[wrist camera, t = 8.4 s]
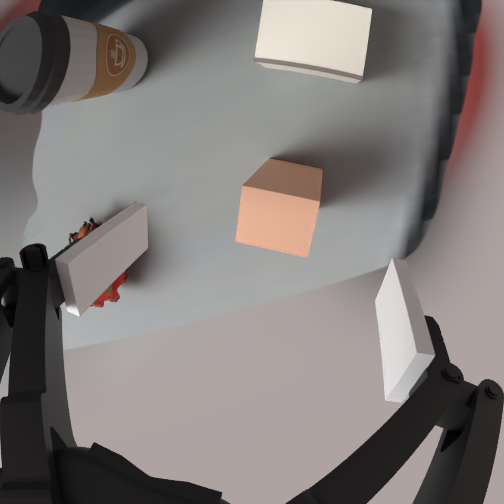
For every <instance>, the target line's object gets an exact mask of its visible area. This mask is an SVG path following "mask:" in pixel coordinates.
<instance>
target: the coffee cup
mask: <svg viewBox="0 0 504 504" xmlns="http://www.w3.org/2000/svg"><path fill="white" fill-rule="evenodd" d="M147 63H148V54H147V50H146V48H145V46H144V44H143V43H142V41H141V40H140V39H139V38H137V37H135V36H133V35H130V34H127V33H124V32H121V31H119V30H117V29H114V28H111V27H107V26H104V25H101V24H97V23H93V22H90V21H83V20H78V19H74V18H70V17H65V16H61V15H59V14H58V13H56V12H54V11H43V12H41V11H34V12H32V13H29V14H26V15H25V16H20V17H18V18H15V19H14V20H13V21H11V22H10V23H9V24H8V25H7V26H6V27H5V29H4V30H3V31H2V33H1V34H0V110H3V111H5V112H11V113H13V114H15V115H19V114H20V115H21V114H35V113H37V112H39V111H42V110H43V109H44V108H48V107H52V106H55V105H59V104H63V103H67V102H75V101H80V100H84V99H89V98H94V97H98V96H103V95H106V94H111V93H116V92H122V91H125V90H128V89H130V88H131V87H133V86H134V85H135V84H136V83H137V82H138V81H139V80H140V79H141V78H142V76H143V75H144V73H145V71H146V68H147Z"/></svg>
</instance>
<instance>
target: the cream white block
mask: <svg viewBox="0 0 504 504" xmlns="http://www.w3.org/2000/svg"><path fill="white" fill-rule="evenodd" d="M371 14H372V9H370V8H366V7H361V6H357V5H352V4H348V3H343V2H338V1H332V0H263V6H262V13H261V19H260V26H259V32H258V39H257V45H256V52H255V57H254V60H253V61H254V62H257V63H259V64H261V65H262V66H264V67H266V68H273V69H280V70H287V71H294V72H300V73H306V74H312V75H317V76H322V77H327V78H332V79H337V80H342V81H346V82H350V83H355V84H357V83H358V82H360V81H362V80H363V71H364V64H365V58H366V51H367V44H368V37H369V30H370V22H371Z"/></svg>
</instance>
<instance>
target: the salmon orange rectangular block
mask: <svg viewBox="0 0 504 504" xmlns="http://www.w3.org/2000/svg"><path fill="white" fill-rule="evenodd" d="M322 174H323V169H320V168H315V167H310V166H306V165H301V164H296V163H291V162H286V161H281V160H276V159H270V158H269V159H268V160H267V161H266V162H265V163H264V164H263V165H262V166H261V167H260V168H259V169H258V170H257V171H256V172H255V173H254V174H253V175H252V176H251V177H250V178H249V179H248V180H247V181H246V182H245V183H244V184H243V186H242V192H241V200H240V208H239V216H238V224H237V232H236V240H235V241H236V242H240V243H245V244H249V245H254V246H258V247H263V248H267V249H272V250H276V251H280V252H285V253H289V254H294V255H298V256H302V257H308V252H309V248H310V244H311V240H312V236H313V231H314V227H315V223H316V218H317V214H318V210H319V205H320V198H321V187H322Z"/></svg>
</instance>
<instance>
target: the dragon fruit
mask: <svg viewBox="0 0 504 504" xmlns="http://www.w3.org/2000/svg"><path fill="white" fill-rule="evenodd" d="M89 221H90V222H91V223H92V224H91V223H88V224H87V222H84V224H83V226H82V227H81V228H80V231H79V233H76V232H75V233H73V234H72V233H70V234H69V244H70V243H71V238H72V239H73V241H75V240H76V239H78V238H81V237H83V236H87V235H88V234H90V233H91V232H92V231H94V230H95V229H97V228H98V227H99V226H101V225H102V222H96V223H95V222H94V220H93V218H90V220H89ZM128 274H129V267H128V268H127V269H126V270H125V271H124V272H123V273H122V274H121V275H120V276H119V277H118V278H117V279H116V280H115V281H114V282H113V283H112V284H111V285H110V286H109V287H108V288H107V289H106V290H105V291H104V292H103V293H102V294H101V295H100V296H99V297H98V298H97V299H96V300H95V301H94V302H93V303H92V304H91V305H90V306H89V307H91V306H96V307H103V306H104V301H106V300H109V301H111V302H117V300H118V299H119V298H120V296H119V294H118V292H117V289H118V287H119V286H120V285H121V284H122V283H123V282H125V281H126V279H127V277H128Z"/></svg>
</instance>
